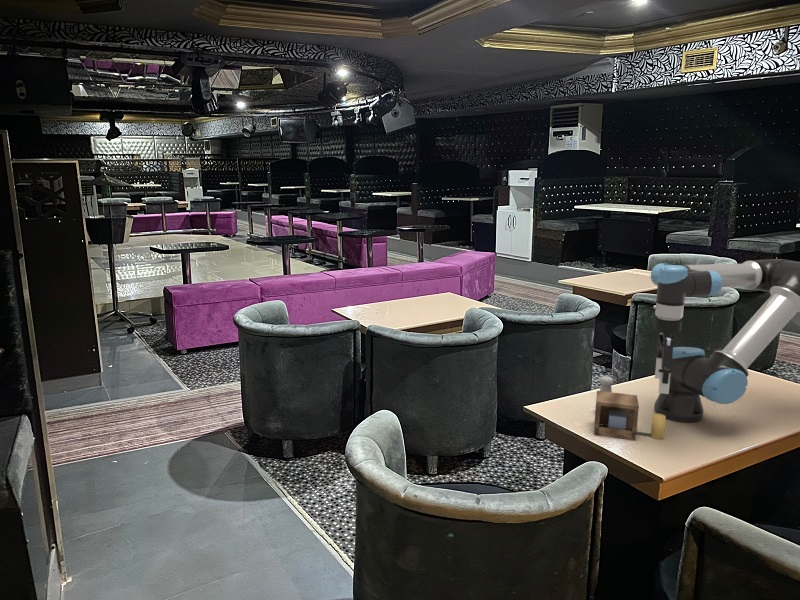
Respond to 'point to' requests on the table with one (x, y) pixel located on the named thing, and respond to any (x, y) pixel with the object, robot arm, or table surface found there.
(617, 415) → the tethered block
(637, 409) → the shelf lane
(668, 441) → the table surface
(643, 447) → the table surface
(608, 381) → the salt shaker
